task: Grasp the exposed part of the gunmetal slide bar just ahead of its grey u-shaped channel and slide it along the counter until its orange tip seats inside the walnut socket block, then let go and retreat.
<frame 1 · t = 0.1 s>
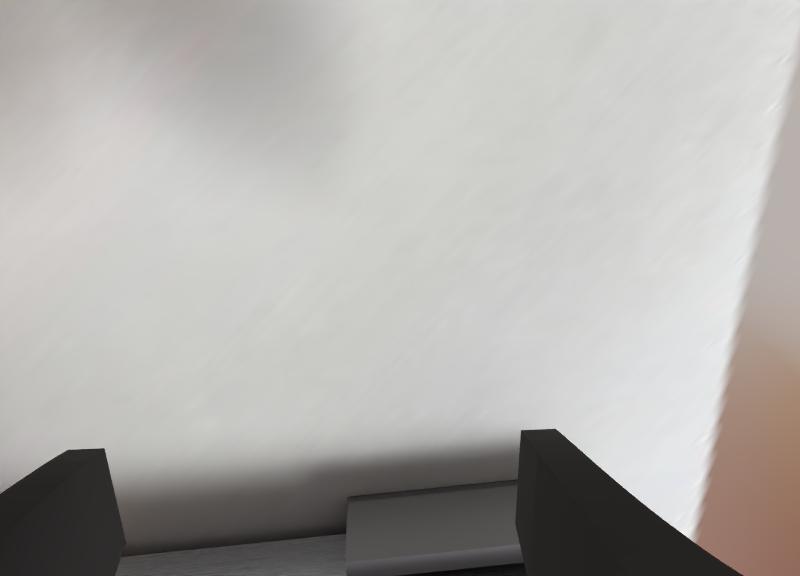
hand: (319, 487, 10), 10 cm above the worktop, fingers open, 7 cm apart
grey u-shaped channel: (460, 540, 24), on the worktop
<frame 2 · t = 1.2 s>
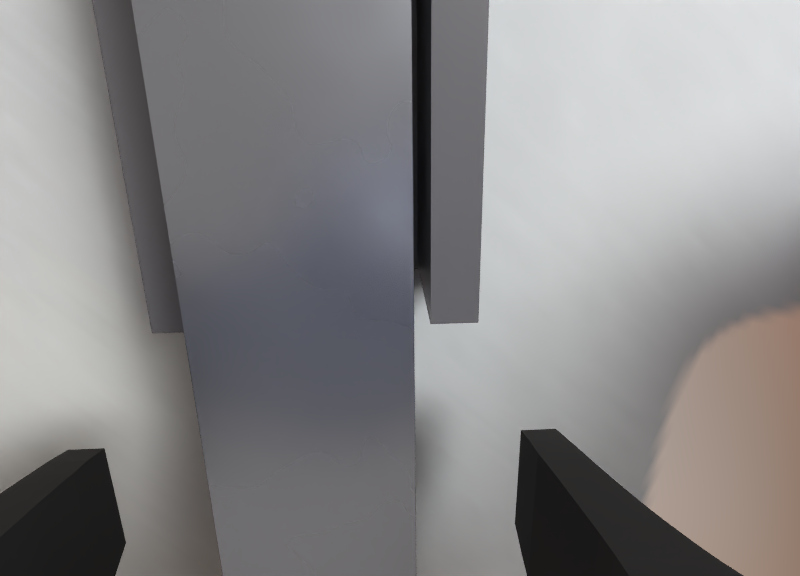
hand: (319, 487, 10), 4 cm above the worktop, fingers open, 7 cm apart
bar: (322, 370, 10), point 3 cm above the worktop, slide at 0.0 cm
grey u-shaped channel: (316, 56, 11), on the worktop
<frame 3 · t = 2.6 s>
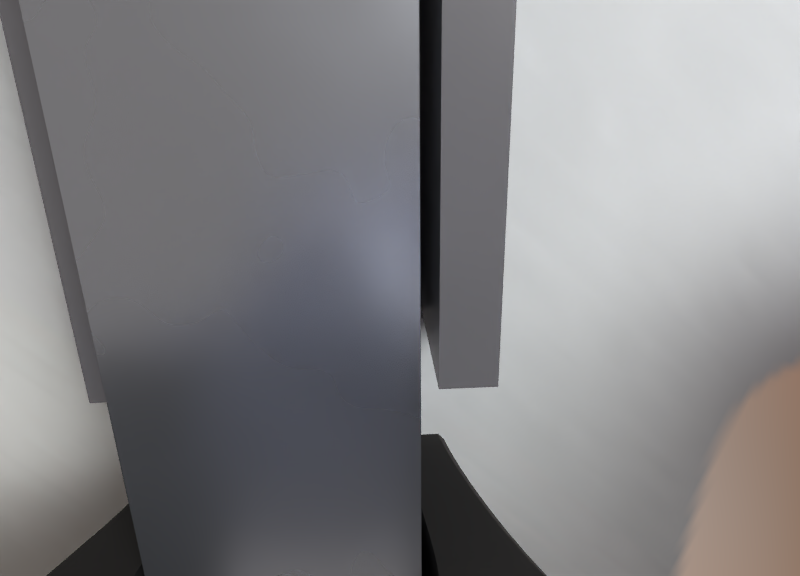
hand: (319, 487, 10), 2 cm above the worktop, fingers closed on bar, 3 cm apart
bar: (304, 442, 9), point 3 cm above the worktop, slide at 0.0 cm, touching gripper
grey u-shaped channel: (298, 55, 9), on the worktop
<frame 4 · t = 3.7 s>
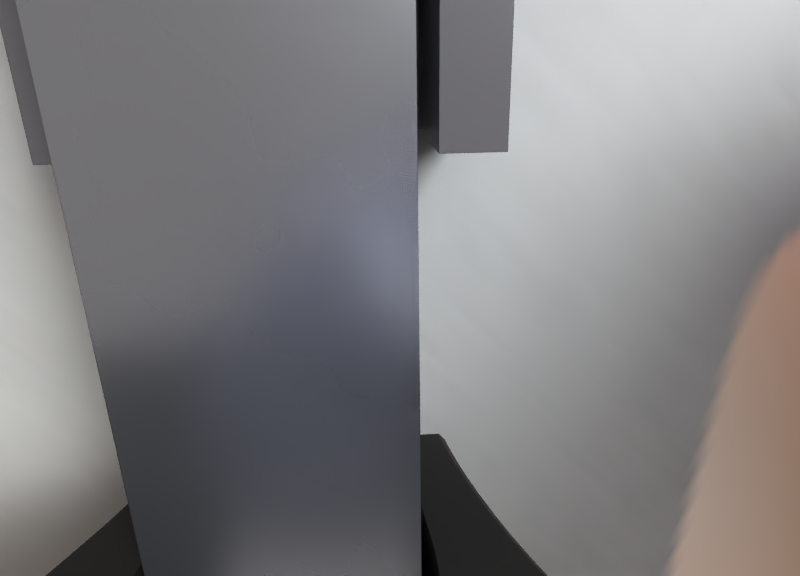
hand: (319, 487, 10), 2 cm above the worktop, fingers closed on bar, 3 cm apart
bar: (304, 436, 8), point 3 cm above the worktop, slide at 3.0 cm, touching gripper
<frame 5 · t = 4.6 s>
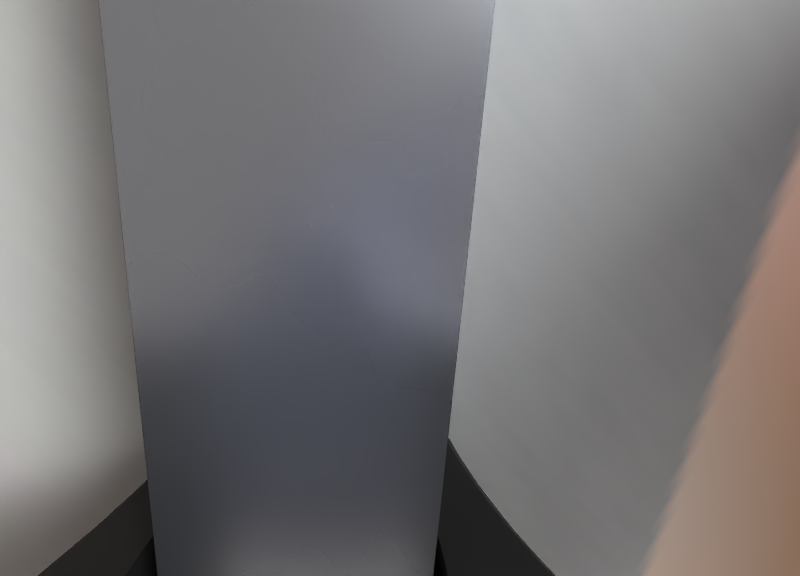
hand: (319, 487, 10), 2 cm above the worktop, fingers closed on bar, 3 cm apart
bar: (315, 423, 8), point 3 cm above the worktop, slide at 6.9 cm, touching gripper
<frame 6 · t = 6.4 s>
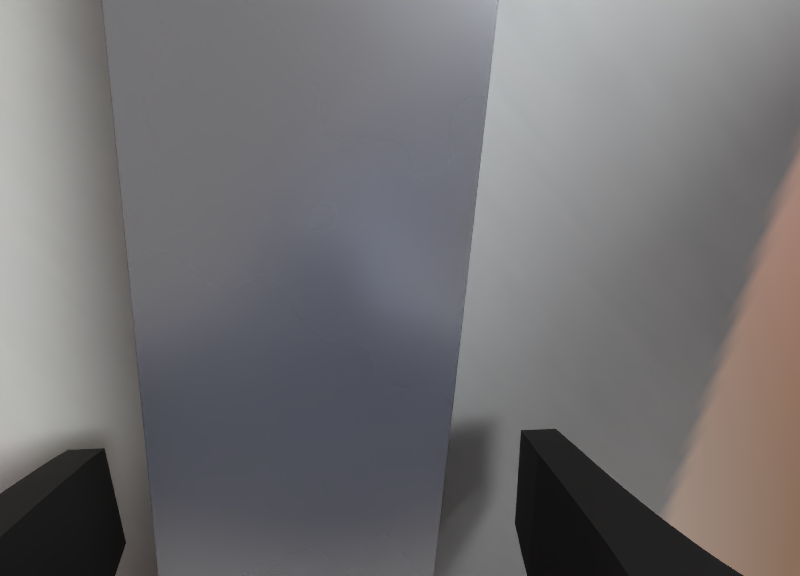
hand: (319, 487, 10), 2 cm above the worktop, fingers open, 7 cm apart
bar: (315, 424, 8), point 3 cm above the worktop, slide at 7.0 cm
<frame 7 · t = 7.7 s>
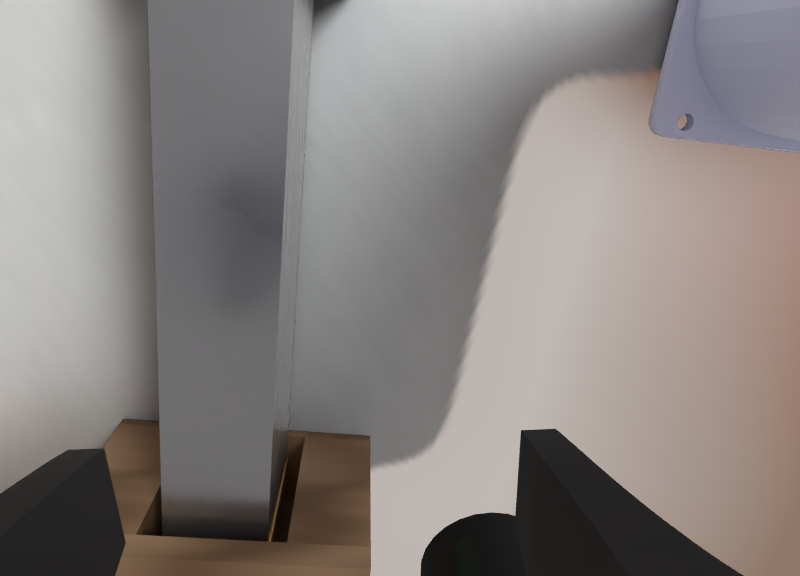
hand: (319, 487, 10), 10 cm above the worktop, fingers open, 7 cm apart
cup: (485, 562, 25), on the worktop
bar: (236, 274, 17), point 3 cm above the worktop, slide at 7.0 cm
socket: (247, 472, 23), on the worktop
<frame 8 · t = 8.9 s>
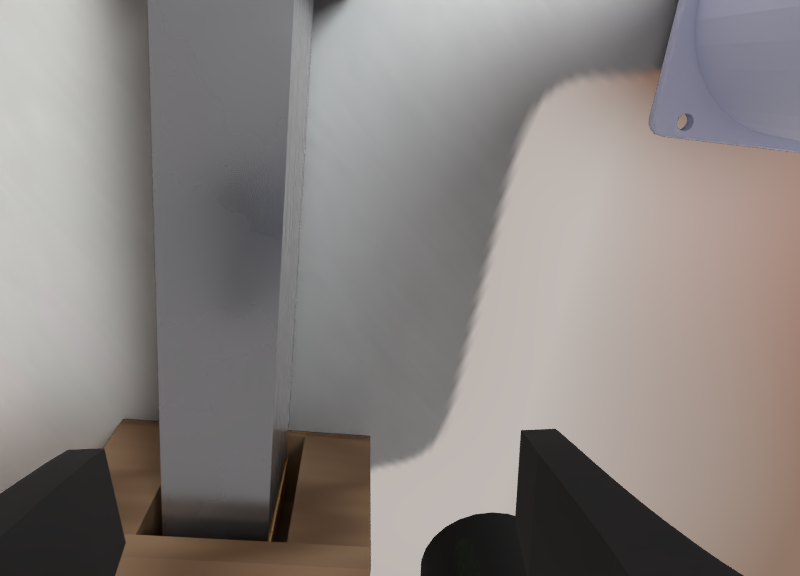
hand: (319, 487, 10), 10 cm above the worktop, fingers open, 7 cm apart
cup: (485, 562, 25), on the worktop
bar: (236, 274, 17), point 3 cm above the worktop, slide at 7.0 cm
socket: (247, 472, 23), on the worktop
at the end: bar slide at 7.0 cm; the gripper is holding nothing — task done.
